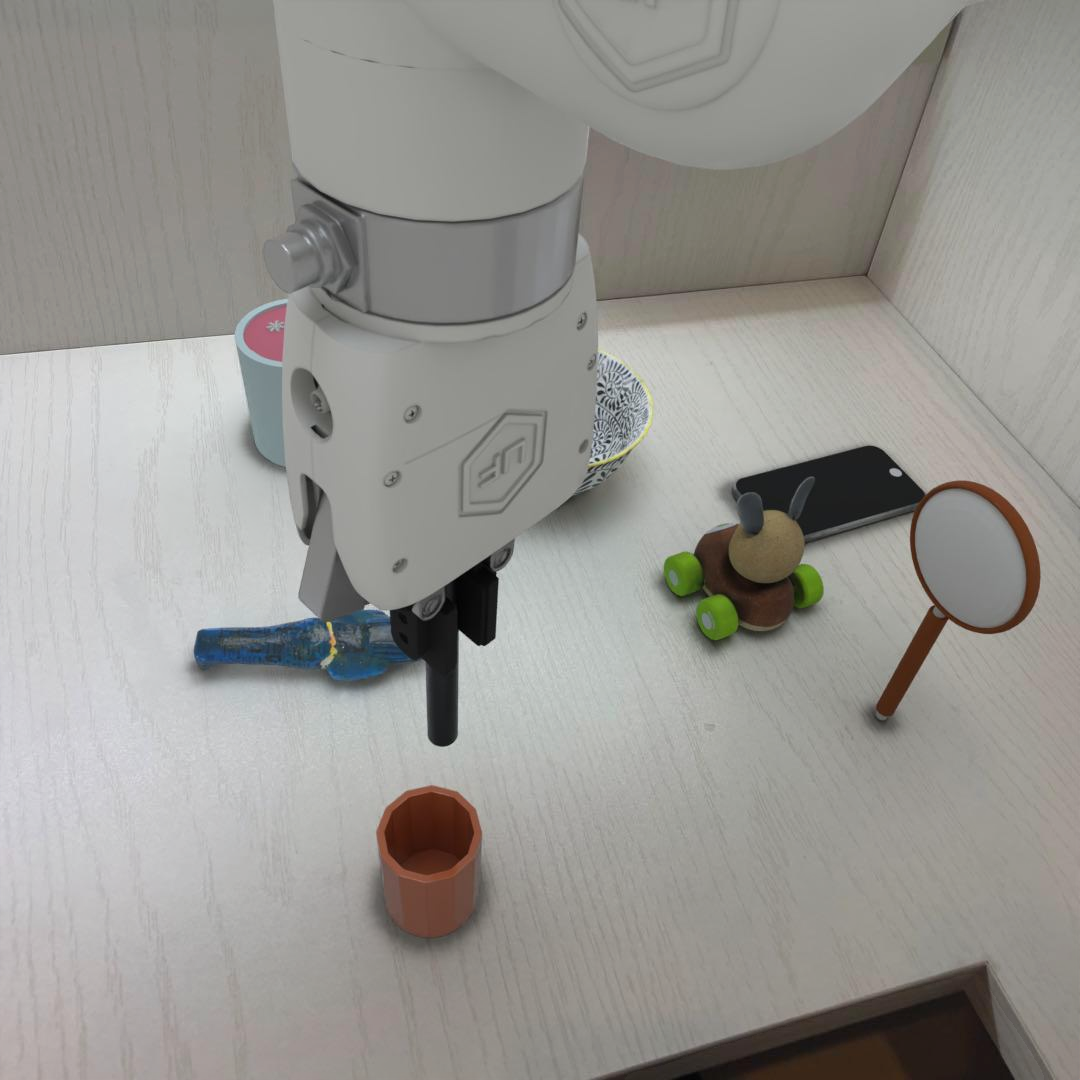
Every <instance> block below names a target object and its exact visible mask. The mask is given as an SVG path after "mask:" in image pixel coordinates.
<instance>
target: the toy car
mask: <svg viewBox="0 0 1080 1080" xmlns="http://www.w3.org/2000/svg"><path fill="white" fill-rule="evenodd" d="M814 481H815V479H814V477H808V478H807V479H805V480H804V481H803V482H802V483H801V484H800V486H799V487H798V489H797V491H796V493H795V495H794V497H793V499H792V501H791V503H790V508H789V513H788V514H786V513H784V512H781V511H777V510H766V511H763V508H762V500H761V497H760V496H759V495H758V494H757V493H754V492H748V493H745V494H744V495H742V496H741V497H740V498H739V499H738V500H737V501H736V510H737V514H738V517H739V522H738V523H737V522H736V523H735V522H728V523H722V524H718V525H716V526H714V527H712V528H710V529H709V530H707V531H706V532H705V533H704V534H703V535H702V536H701V538H700V539H699V541H698V542H697V544H696V546H695V549H694V552H693V553H692V552H690V551H681V552H678V553H675V554H672V555H670V556H668V557H667V558H666V559H665V560H664V563H663V573H664V577H665V581H666V584H667V586H668V587H669V589H670V590H671V591H672V592H673V593H674V594H675V595H677V596H680V597H684V596H688V595H690V594H693V593H696V592H697V591H699V590H701V588H702V590H703V591H704V592H705V593H706V594H707V596H708V597H705V598H702V599H701V600H699V602H698V604H697V605H696V610H695V611H696V612H695V613H696V619H697V623H698V625H699V628H700V631H702V633H703V634H704V636H706V637H707V638H709V639H710V640H713V641H718V640H721V639H724V638H727V637H729V636H732V635H734V634H735V633H736V632H737V630H738V628H739V626H740V627H742V628H745V629H746V630H751V631H755V632H766V631H772V630H774V629H777V628H779V627H781V626H782V625H784V624H785V622H786V621H788V620H789V618H790V616H791V614H792V612H793V609H794V607H795V608H797V609H805V608H808V607H809V606H813V605H815V604H817V603H819V602H820V601H821V600H822V598H823V596H824V589H825V587H824V582H823V580H822V576H821V575H820V573H819V571H818V570H817V569H815V568H814V566H812V565H810V564H807V563H801V562H802V559H803V557H804V552H805V545H806V544H805V542H804V537H803V533H802V530H801V528H800V526H799V525H798V523H797V522H796V520H797V519H798V518H799V516H800V514H801V511H802V509H803V506H804V503H805V501H806V498H807V496H808V494H809V492H810V490H811V488H812V486H813V484H814Z"/></svg>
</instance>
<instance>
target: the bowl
mask: <svg viewBox="0 0 1080 1080" xmlns="http://www.w3.org/2000/svg"><path fill="white" fill-rule="evenodd" d="M653 417H654V402H653V399H652V395H651V393H650V390H649V388H648V387H647V385H646V383H645V382H644V380H643V379H642V378H641V377H640V375H639V374H638V373H637V372H636V371H635V370H634V369H633V368H631V367H630V366H629V365H627V364H626V363H625V362H623V361H622V360H620V359H619V358H617V357H615V356H614V355H612V354H610V353H608V352H606V351H604V350H601V349H599V348H598V370H597V391H596V405H595V418H594V428H593V438H592V446H591V454H590V459H589V464H588V469H587V473H586V476H585V479H584V481H583V482H582V484H581V485H580V487H579V488H578V489H577V490H576V492H575V493H574V494H573V495H572V496H571V497H573V496H576V495H579V494H582V493H586V492H587V491H590V490H592V489H594V488H595V487H597V486H599V485H600V484H602V483H603V482H605V481H606V480H607V479H609V478H610V477H611V476H613V475H614V474H615V473H616V472H617V470H618V469H619V468H620V467H621V466H622V464H623V463H624V462H625V461H626V459H627V458H628V456H629V455H630V453H631V452H632V451H633V450H634V449H635V448H636V447H638V445H639V444H640V443H641V441H642V440H643V439H644V438H645V436H646V435H647V433H648V431H649V429H650V428H651V424H652V421H653Z"/></svg>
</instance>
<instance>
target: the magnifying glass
mask: <svg viewBox="0 0 1080 1080" xmlns="http://www.w3.org/2000/svg"><path fill="white" fill-rule="evenodd" d="M925 494H926V495H925V496H924V497H923V499H922V500H921V501H920V503H919V504H918V506H917V508H916V510H914V512H913V514H912V519H911V522H910V529H909V546H910V547H909V548H910V554H911V555H910V556H911V560H912V563H913V567H914V571H915V573H916V576H917V579H918V581H919V582H920V585H921V587H922V589H923V590H924V592H925V594H926V595H927V597H928V598H929V600H930V601H931V602H932V604H933V605H931V606H929V608H928V610H927V611H926V614H925V615H924V617H923V619H922V621H921V623H920V625H919V626H918V628H917V630H916V632H915V633H914V635H913V637H912V639H911V641H910V642H909V644H908V646H907V648H906V650H905V651H904V654H903V656H902V657H901V659H900V661H899V663H898V665H897V666H896V668H895V670H894V672H893V673H892V676H891V677H890V679H889V681H888V683H887V685H886V687H885V688H884V690H883V691H882V693H881V695H880V696H879V699H878V701H877V703H876V704H875V709H876V711H875V718H877V719H878V720H879V721H886V720H887V719H888V718H889V717H893V715H894V714H895V712H896V711H897V709H898V707H899V706H900V703H901V702H902V700H903V698H904V696H905V695H906V693H907V691H908V690H909V689H910V686H911V685H912V683H913V681H914V679H915V678H916V676H917V675H918V672H919V671H920V669H921V667H923V664H924V662H925V661H926V659H927V657H928V655H929V654H930V652H931V650H932V648H933V647H934V645H935V643H936V642H937V640H938V639H939V636H940V635H941V633H942V631H943V629H944V627H946V625H947V622H948V621H950V622H952V623H953V624H955V625H957V626H958V627H960V628H962V629H965V630H967V631H970V632H972V633H977V634H981V635H982V634H983V635H995V634H996V635H997V634H1001V633H1005V632H1007V631H1010V630H1012V629H1014V628H1015V627H1017V626H1019V625H1020V624H1021V623H1022V622H1024V621H1025V620H1026V618H1027V617H1028V616H1029V615H1030V613H1031V612H1032V610H1033V608H1034V606H1035V605H1036V602H1037V599H1038V597H1039V592H1040V588H1041V576H1042V575H1041V562H1040V555H1039V553H1038V548H1037V546H1036V542H1035V540H1034V537H1033V535H1032V533H1031V530H1030V528H1029V527H1028V524H1027V523H1026V522H1025V520H1024V518H1023V516H1022V515H1021V514H1020V513H1019V511H1018V509H1016V507H1015V506H1014V505H1012V503H1011V502H1010V501H1009V500H1008V499H1006V498H1005V497H1004V496H1003V495H1002V494H1000V493H999V492H997V491H996V490H995V489H993V488H991V487H989V486H987V485H985V484H982V483H979V482H976V481H971V480H966V479H965V480H962V479H961V480H951V481H946V482H945V483H941V484H939V485H936V486H934V487H933V488H932V489H930V490H929V491H928V492H927V493H925Z"/></svg>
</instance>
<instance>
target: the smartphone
mask: <svg viewBox="0 0 1080 1080" xmlns="http://www.w3.org/2000/svg"><path fill="white" fill-rule="evenodd" d="M808 477H814V479H815V481H814V484H813V486H812V488H811V490H810V492H809V494H808V496H807V498H806V501H805V503H804V506H803V509H802V511H801V514H800V516H799V518H798V519H797V520H796V522H797V523H798V525H799V526H800V528H801V530H802V533H803V537H804V543H808V542H811V541H815V540H817V539H822V538H824V537H828V536H831V535H834V534H839V533H842V532H845V531H848V530H851V529H855V528H859V527H862V526H865V525H869V524H872V523H876V522H879V521H882V520H886V519H890V518H892V517H896V516H899V515H904V514H906V513H910V512H913V511H915V510H916V508H917V506H918V504H919V503H920V501H921V500H922V499H923V497H924V496H925V495H926V494H927V493H926V492H925V491H924V490H923V489H922V488H921V487H920V486H919V485H918V484H917V483H916V481H914V479H912V478H911V477H910V476H909V475H908V473H906V472H905V471H904V470H903V469H902V467H900V466H899V465H898V464H897V463H896V462H895V461H894V459H892V457H890V455H888V454H887V453H886V451H884V449H882V448H880V447H878V446H875V445H863V446H860V447H856V448H852V449H847V450H844V451H840V452H836V453H833V454H829V455H824V456H821V457H818V458H813V459H809V460H805V461H802V462H798V463H795V464H790V465H787V466H780V467H777V468H774V469H771V470H767V471H764V472H760V473H755V474H752V475H748V476H745V477H740V478H738V479H737V480H735V481H734V482H733V484H732V488H731V492H732V495H733V497H735V499H736V500H737V501H738V499H739V498H740V497H741V496H742V495H744V494H745V493H748V492H754V493H757V494H758V495H759V496H760V497H761V500H762V508H763V511H766V510H777V511H781V512H784V513H786V514H788V513H789V508H790V503H791V501H792V499H793V497H794V495H795V493H796V491H797V489H798V487H799V486H800V484H801V483H802V482H803V481H804V480H805V479H807V478H808Z"/></svg>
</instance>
